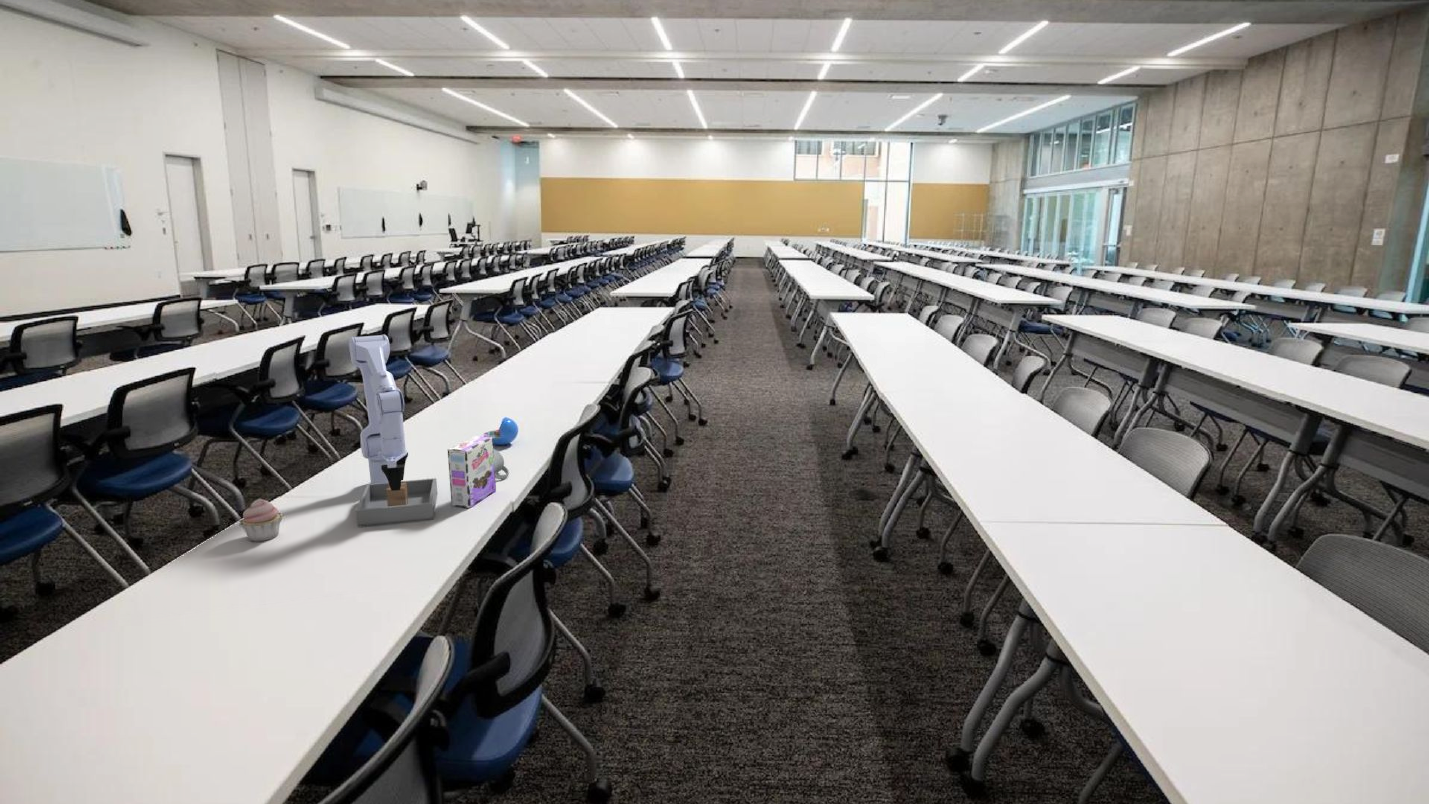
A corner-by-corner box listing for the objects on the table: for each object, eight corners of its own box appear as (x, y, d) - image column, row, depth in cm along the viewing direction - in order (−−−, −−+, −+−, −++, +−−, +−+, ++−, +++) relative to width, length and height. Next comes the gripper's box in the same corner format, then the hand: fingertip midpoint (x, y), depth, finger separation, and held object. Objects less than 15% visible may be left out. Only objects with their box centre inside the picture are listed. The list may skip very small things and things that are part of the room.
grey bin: (368, 499, 207) (367, 484, 206) (437, 493, 212) (436, 478, 211) (357, 527, 189) (355, 510, 188) (433, 519, 194) (431, 503, 193)
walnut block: (390, 505, 202) (388, 484, 200) (408, 503, 203) (406, 482, 202) (388, 511, 198) (386, 489, 196) (406, 509, 199) (404, 488, 197)
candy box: (470, 508, 201) (465, 450, 197) (450, 506, 203) (446, 448, 199) (497, 491, 214) (493, 436, 210) (478, 489, 216) (474, 434, 212)
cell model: (490, 439, 264) (488, 413, 261) (523, 440, 263) (521, 414, 260) (479, 447, 254) (477, 420, 252) (513, 449, 253) (511, 421, 251)
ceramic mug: (468, 479, 223) (467, 455, 222) (482, 470, 231) (481, 447, 229) (501, 483, 221) (499, 458, 219) (514, 474, 229) (513, 450, 227)
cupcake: (265, 546, 177) (260, 507, 175) (232, 543, 179) (226, 504, 177) (294, 530, 186) (289, 493, 184) (262, 527, 188) (257, 490, 186)
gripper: (379, 429, 201) (384, 477, 204) (372, 445, 188) (377, 496, 191) (407, 428, 203) (412, 475, 206) (402, 443, 190) (407, 493, 193)
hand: (397, 485), depth 199 cm, fingers open, 7 cm apart
